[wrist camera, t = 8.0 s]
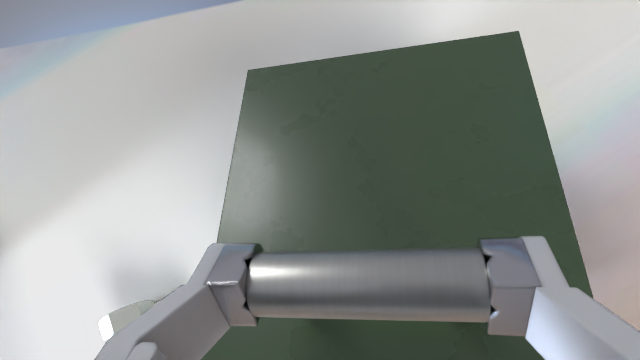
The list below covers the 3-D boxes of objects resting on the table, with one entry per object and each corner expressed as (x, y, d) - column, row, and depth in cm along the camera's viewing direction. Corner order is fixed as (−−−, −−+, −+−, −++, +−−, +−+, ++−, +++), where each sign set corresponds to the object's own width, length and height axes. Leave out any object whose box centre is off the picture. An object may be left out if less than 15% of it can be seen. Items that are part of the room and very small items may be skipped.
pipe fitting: (194, 279, 30) (124, 315, 30) (167, 283, 26) (87, 323, 27) (230, 378, 28) (154, 414, 28) (206, 396, 24) (119, 438, 25)
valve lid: (607, 388, 11) (748, 400, 6) (204, 365, 14) (96, 361, 10) (515, 43, 18) (550, -78, 13) (253, 79, 21) (203, -7, 16)
